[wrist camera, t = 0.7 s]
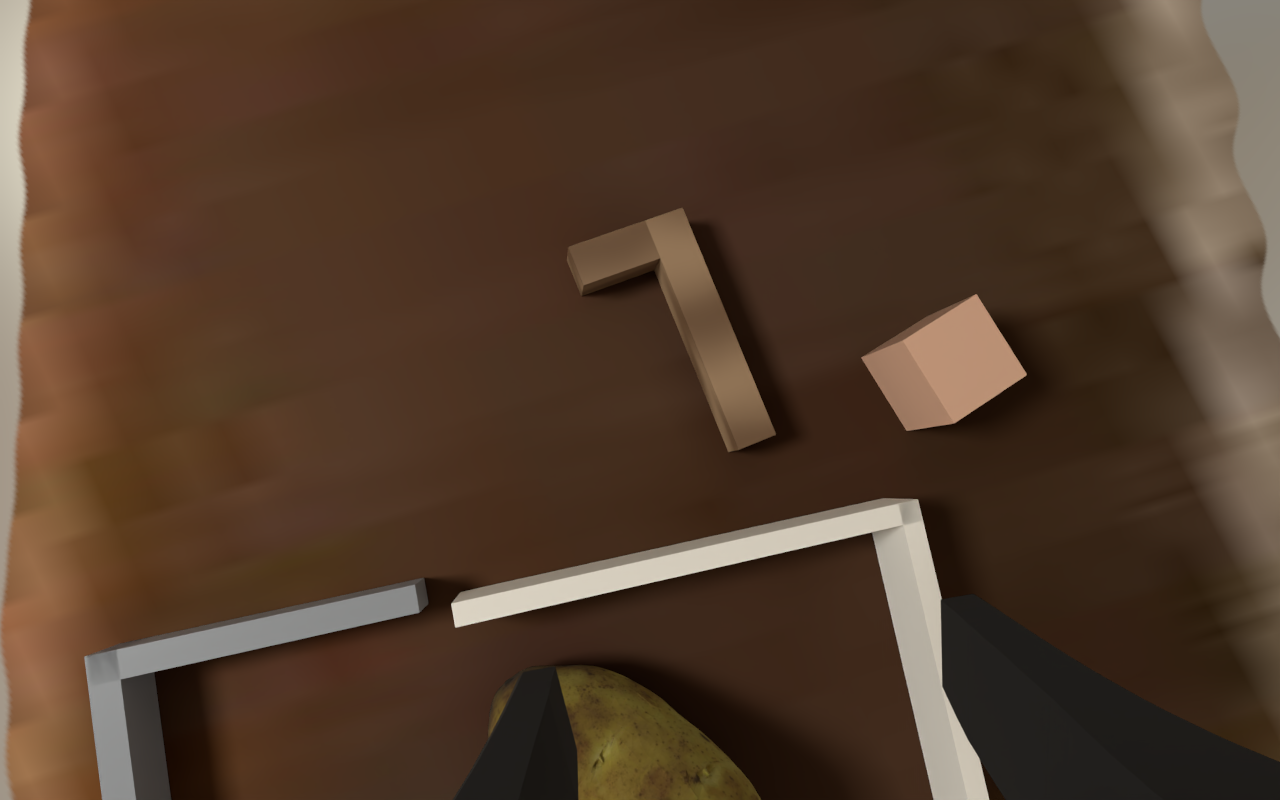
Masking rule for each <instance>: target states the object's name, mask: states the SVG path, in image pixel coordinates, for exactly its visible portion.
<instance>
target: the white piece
mask: <svg viewBox="0 0 1280 800" xmlns="http://www.w3.org/2000/svg"><path fill="white" fill-rule="evenodd" d="M871 532H872V534H873V539H874V543H875V547H876V552H877V556H878V560H879V565H880V569H881V573H882V578H883V582H884V586H885V591H886V595H887V599H888V604H889V608H890V612H891V617H892V621H893V625H894V630H895V634H896V638H897V643H898V647H899V651H900V656H901V660H902V664H903V669H904V673H905V678H906V682H907V686H908V691H909V695H910V699H911V704H912V708H913V712H914V717H915V721H916V725H917V730H918V734H919V738H920V743H921V747H922V751H923V756H924V760H925V764H926V769H927V773H928V777H929V782H930V786H931V790H932V795H933V799H934V800H989V796H988V792H987V788H986V784H985V779H984V775H983V771H982V767H981V763H980V758H979V757H978V755H977V754H976V752H975V750H974V749H973V747H972V746H971V744H970V742H969V741H968V739H967V737H966V735H965V733H964V731H963V729H962V727H961V725H960V723H959V721H958V719H957V717H956V715H955V713H954V711H953V709H952V706H951V704H950V702H949V700H948V698H947V696H946V694H945V691H944V689H943V687H942V647H941V599H942V598H941V594H940V590H939V586H938V582H937V577H936V573H935V569H934V565H933V560H932V556H931V552H930V548H929V544H928V539H927V535H926V531H925V527H924V523H923V518H922V514H921V510H920V506H919V502H918V499H889V498H882V499H878V500H873V501H869V502H864V503H860V504H855V505H851V506H846V507H842V508H837V509H833V510H828V511H824V512H819V513H815V514H810V515H806V516H801V517H797V518H792V519H788V520H783V521H779V522H774V523H770V524H765V525H761V526H756V527H752V528H747V529H743V530H738V531H733V532H729V533H724V534H720V535H715V536H711V537H706V538H702V539H697V540H693V541H688V542H684V543H679V544H675V545H670V546H666V547H661V548H657V549H652V550H648V551H643V552H639V553H634V554H630V555H625V556H621V557H616V558H612V559H607V560H603V561H598V562H594V563H589V564H585V565H580V566H576V567H571V568H566V569H562V570H557V571H553V572H548V573H544V574H539V575H535V576H530V577H526V578H521V579H517V580H512V581H508V582H503V583H499V584H494V585H490V586H485V587H481V588H476V589H472V590H467V591H463V592H460V593H459V594H458V596H457V597H456V598H455V599H454V601H453V602H452V603H451V606H452V612H453V617H454V623H455V628H456V627H460V626H464V625H469V624H473V623H477V622H482V621H486V620H491V619H495V618H499V617H504V616H508V615H512V614H517V613H521V612H525V611H530V610H534V609H539V608H543V607H547V606H552V605H556V604H560V603H565V602H569V601H574V600H578V599H582V598H587V597H591V596H595V595H600V594H604V593H609V592H613V591H617V590H622V589H626V588H630V587H635V586H639V585H644V584H648V583H652V582H657V581H661V580H665V579H670V578H674V577H678V576H683V575H687V574H692V573H696V572H700V571H705V570H709V569H713V568H718V567H722V566H727V565H731V564H735V563H740V562H744V561H748V560H753V559H757V558H762V557H766V556H770V555H775V554H779V553H783V552H788V551H792V550H796V549H801V548H805V547H810V546H814V545H818V544H823V543H827V542H831V541H836V540H840V539H845V538H849V537H853V536H858V535H862V534H866V533H871Z"/></svg>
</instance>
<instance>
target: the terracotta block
mask: <svg viewBox="0 0 1280 800" xmlns="http://www.w3.org/2000/svg"><path fill="white" fill-rule="evenodd" d="M862 360H863V361H864V363H865V364H866V366H867V368H868V369H869V371H870V373H871V374H872V376H873V377H874V379H875V381H876V382H877V384H878V385H879V387H880V389H881V390H882V392H883V393H884V395H885V397H886V398H887V400H888V401H889V403H890V405H891V406H892V408H893V410H894V411H895V413H896V414H897V416H898V418H899V419H900V421H901V422H902V424H903V426H904V427H905V429H906V430H907V431H910V430H916V429H923V428H929V427H935V426H941V425H948V424H954V423H956V422H957V421H959V420H960V419H962V418H963V417H965V416H966V415H968V414H969V413H971V412H972V411H974V410H975V409H977V408H978V407H980V406H981V405H983V404H984V403H986V402H987V401H989V400H990V399H992V398H993V397H995V396H996V395H998V394H999V393H1001V392H1002V391H1004V390H1005V389H1007V388H1008V387H1010V386H1011V385H1013V384H1014V383H1016V382H1017V381H1019V380H1020V379H1022V378H1023V377H1025V376H1026V375H1027V374H1026V372H1025V371H1024V369H1023V367H1022V366H1021V364H1020V363H1019V361H1018V359H1017V358H1016V356H1015V355H1014V353H1013V352H1012V350H1011V348H1010V347H1009V345H1008V344H1007V342H1006V340H1005V339H1004V337H1003V336H1002V334H1001V332H1000V331H999V329H998V328H997V326H996V325H995V323H994V321H993V320H992V318H991V317H990V315H989V313H988V312H987V310H986V309H985V307H984V305H983V304H982V302H981V301H980V299H979V298H978V296H977V294H976V295H973V296H971V297H969V298H967V299H965V300H962V301H960V302H958V303H956V304H953V305H951V306H949V307H947V308H945V309H942V310H940V311H938V312H936V313H933V314H931V315H929V316H927V317H925V318H924V319H922V320H921V321H919V322H917V323H916V324H914V325H913V326H911V327H909V328H908V329H906V330H905V331H903V332H901V333H900V334H898V335H897V336H895V337H893V338H892V339H890V340H889V341H887V342H885V343H884V344H882V345H881V346H879V347H877V348H876V349H874V350H873V351H871V352H870V353H868V354H866V355H865V356H863V357H862Z"/></svg>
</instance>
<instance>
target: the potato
mask: <svg viewBox="0 0 1280 800" xmlns="http://www.w3.org/2000/svg"><path fill="white" fill-rule="evenodd" d="M548 667H554V666H551V665H550V666H532V667H529V668H526V669H524V670H522V671H520V672H518V673H517V674H516V675H514V676H513V677H512V678H510V679H508V680H507V681H506V682H505V684H504V685H502V686H501V687H500V688H499V690H498V691H497V692H496V694H495V696H494V699H493V701H492V704H491V709H490V715H489V726H488V739H489V737H490V735H491V733H492V731H493V729H494V727H495V725H496V723H497V721H498V719H499V717H500V715H501V713H502V711H503V709H504V707H505V705H506V703H507V701H508V699H509V697H510V695H511V693H512V691H513V689H514V686H515V684H516V682H517V680H518V678H519V676H520V675H521V674H522V673H523V672H525V671H531V670H537V669H543V668H548ZM555 667H556V671H557V674H558V678H559V682H560V686H561V690H562V694H563V697H564V701H565V705H566V709H567V713H568V717H569V720H570V724H571V728H572V732H573V736H574V739H575V743H576V747H577V761H578V800H761V798H760V797H759V795H758V793H757V792H756V790H755V788H754V787H753V785H752V784H751V782H750V781H749V780H748V779H747V777H746V776H745V775H744V774H743V773H742V771H741V770H740V769H739V768H738V767H737V766H736V765H735V764H734V763H733V762H732V761H731V759H730V758H729V757H728V756H727V755H726V754H725V753H724V752H723V751H722V750H721V749H720V748H719V747H718V746H717V745H716V744H714V743H713V742H712V741H711V740H710V739H709V738H708V737H707V736H706V735H705V734H704V733H702V732H701V731H700V730H699V729H697V728H696V727H695V726H693V725H692V724H691V723H689V722H688V721H687V720H686V719H684V718H683V717H682V716H681V715H679V714H678V713H677V712H676V711H675V710H674V709H673V708H671V707H670V706H669V705H668V704H667V703H666V702H665V701H664V700H663V699H662V698H660V697H659V696H657V695H656V694H654V693H653V692H652V691H650V690H648V689H647V688H645V687H643V686H641V685H640V684H638V683H636V682H634V681H632V680H630V679H629V678H627V677H625V676H623V675H620V674H618V673H615V672H613V671H610V670H607V669H604V668H600V667H596V666H588V665H565V666H555Z"/></svg>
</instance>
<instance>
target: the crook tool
mask: <svg viewBox="0 0 1280 800" xmlns="http://www.w3.org/2000/svg"><path fill="white" fill-rule="evenodd" d="M567 261H568V264H569V266H570V269H571V271H572V274H573V276H574V279H575V281H576V284H577V286H578V289H579V291H580V294H581V296H584V295H586V294H589V293H592V292H595V291H598V290H600V289H603V288H606V287H609V286H612V285H614V284H617V283H620V282H623V281H626V280H628V279H631V278H634V277H637V276H640V275H642V274H645V273H648V272H651V271H655V273H656V276H657V278H658V281H659V283H660V286H661V288H662V291H663V293H664V295H665V298H666V300H667V303H668V305H669V308H670V310H671V313H672V315H673V317H674V320H675V322H676V325H677V327H678V330H679V332H680V335H681V337H682V339H683V342H684V344H685V347H686V349H687V352H688V354H689V357H690V359H691V362H692V364H693V366H694V369H695V371H696V374H697V376H698V379H699V381H700V384H701V386H702V388H703V391H704V393H705V396H706V398H707V401H708V403H709V406H710V408H711V411H712V413H713V415H714V418H715V420H716V423H717V425H718V428H719V430H720V433H721V435H722V437H723V440H724V442H725V445H726V447H727V450H728V452H731V451H736V450H740V449H742V448H745V447H747V446H750V445H752V444H754V443H757V442H759V441H762V440H764V439H767V438H769V437H771V436H774V435H776V433H775V430H774V428H773V426H772V423H771V421H770V418H769V416H768V413H767V411H766V409H765V406H764V404H763V401H762V399H761V397H760V394H759V392H758V389H757V387H756V384H755V382H754V380H753V377H752V375H751V372H750V370H749V367H748V365H747V363H746V360H745V358H744V355H743V353H742V351H741V348H740V346H739V343H738V341H737V338H736V336H735V334H734V331H733V329H732V326H731V324H730V321H729V319H728V317H727V314H726V312H725V309H724V307H723V305H722V302H721V300H720V297H719V295H718V292H717V290H716V288H715V285H714V283H713V280H712V278H711V275H710V273H709V271H708V268H707V266H706V263H705V261H704V259H703V256H702V254H701V251H700V249H699V246H698V244H697V242H696V239H695V237H694V234H693V232H692V229H691V227H690V225H689V222H688V220H687V217H686V215H685V212H684V210H683V208H680V209H677V210H674V211H671V212H669V213H666V214H663V215H660V216H657V217H654V218H651V219H648V220H645V221H642V222H639V223H637V224H634V225H631V226H628V227H625V228H622V229H619V230H616V231H613V232H610V233H607V234H605V235H602V236H599V237H596V238H593V239H590V240H587V241H584V242H581V243H578V244H575V245H573V246H570V247H568V255H567Z"/></svg>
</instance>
